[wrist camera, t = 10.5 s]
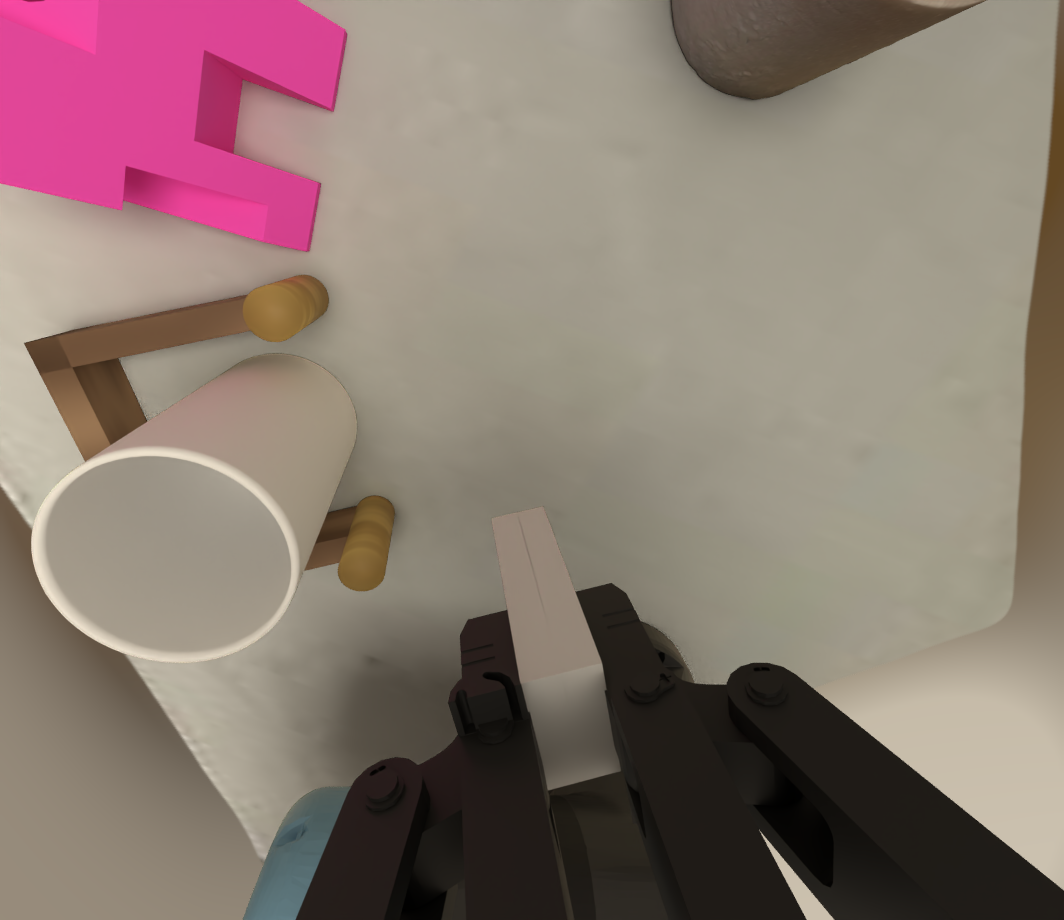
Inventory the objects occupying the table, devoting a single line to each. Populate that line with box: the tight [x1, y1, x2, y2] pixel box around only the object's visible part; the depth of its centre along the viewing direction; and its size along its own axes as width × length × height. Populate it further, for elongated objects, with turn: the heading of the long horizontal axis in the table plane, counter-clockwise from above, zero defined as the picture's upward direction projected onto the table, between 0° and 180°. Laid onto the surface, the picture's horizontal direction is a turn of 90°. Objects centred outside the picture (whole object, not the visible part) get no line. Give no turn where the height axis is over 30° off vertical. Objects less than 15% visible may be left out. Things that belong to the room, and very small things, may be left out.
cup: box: [31, 354, 357, 663], centre depth 27 cm, size 8×8×16 cm
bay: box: [24, 275, 395, 591], centre depth 31 cm, size 16×13×7 cm
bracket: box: [0, 0, 347, 252], centre depth 24 cm, size 12×10×10 cm
